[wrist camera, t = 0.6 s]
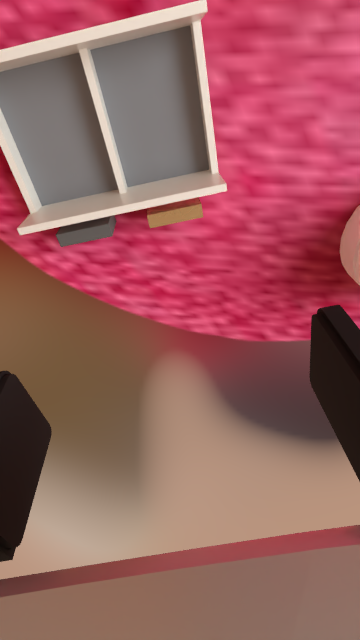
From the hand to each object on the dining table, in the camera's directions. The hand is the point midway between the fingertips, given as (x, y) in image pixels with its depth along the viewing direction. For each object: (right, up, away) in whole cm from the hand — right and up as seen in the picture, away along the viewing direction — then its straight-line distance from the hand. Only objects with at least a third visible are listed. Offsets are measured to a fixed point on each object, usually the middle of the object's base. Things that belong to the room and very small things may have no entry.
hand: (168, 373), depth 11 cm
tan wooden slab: (0, +13, +24) cm, 27 cm away
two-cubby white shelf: (-6, +19, +19) cm, 28 cm away
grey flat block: (-9, +12, +24) cm, 28 cm away
